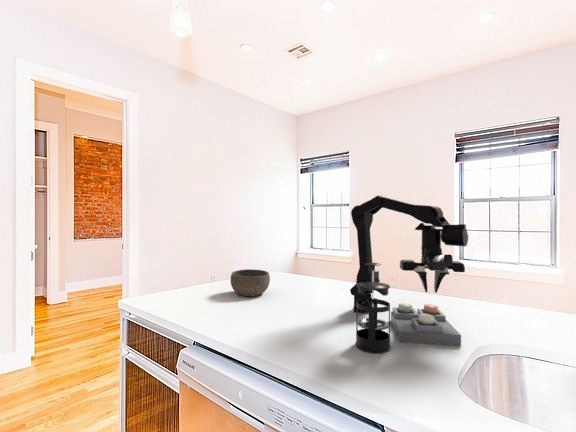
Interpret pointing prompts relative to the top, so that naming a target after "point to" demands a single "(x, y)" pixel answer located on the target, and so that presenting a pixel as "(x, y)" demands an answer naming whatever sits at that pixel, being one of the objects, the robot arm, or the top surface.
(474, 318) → the top surface
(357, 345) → the french press
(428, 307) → the terracotta button
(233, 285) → the bowl
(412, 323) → the console
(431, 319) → the cream button
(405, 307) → the sage button
